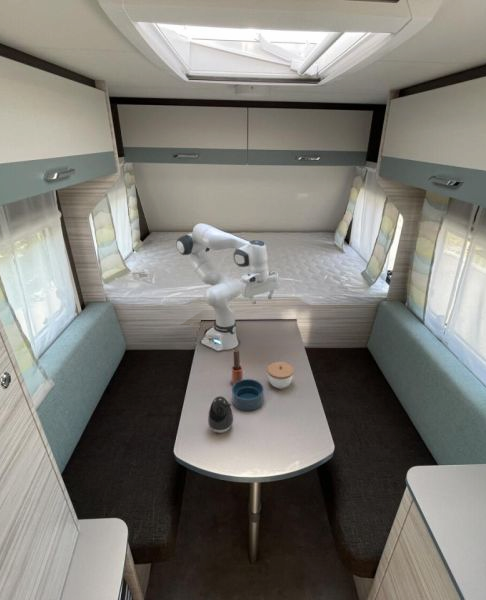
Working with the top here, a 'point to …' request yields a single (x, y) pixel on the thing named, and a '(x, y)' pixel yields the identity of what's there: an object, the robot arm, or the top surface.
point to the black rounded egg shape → (220, 415)
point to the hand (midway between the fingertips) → (262, 301)
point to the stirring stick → (236, 360)
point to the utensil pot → (237, 375)
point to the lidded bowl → (280, 374)
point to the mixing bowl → (247, 394)
